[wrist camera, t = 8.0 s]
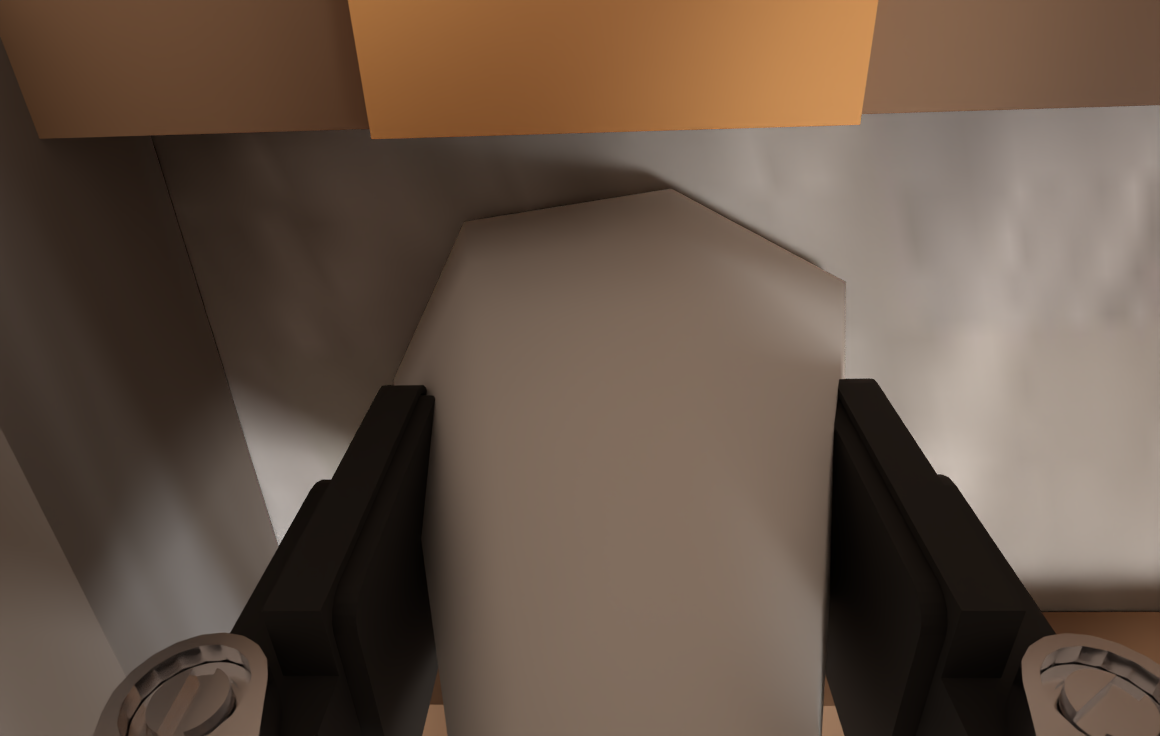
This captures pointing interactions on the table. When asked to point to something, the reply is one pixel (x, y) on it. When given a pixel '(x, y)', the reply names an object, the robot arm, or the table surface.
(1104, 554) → the table surface
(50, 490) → the guide channel
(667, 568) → the flask
